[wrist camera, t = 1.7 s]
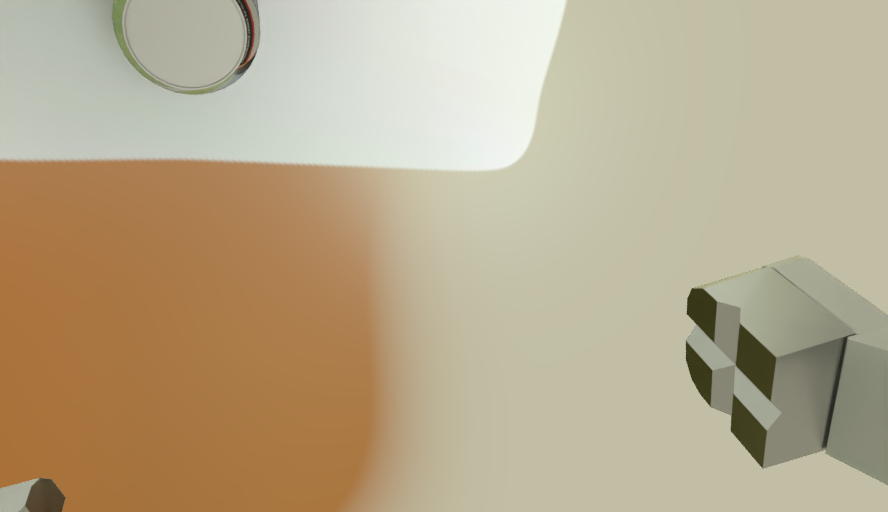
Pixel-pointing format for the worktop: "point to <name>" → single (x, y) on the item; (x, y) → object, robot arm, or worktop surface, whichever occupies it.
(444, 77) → the worktop surface
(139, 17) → the beverage can
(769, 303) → the robot arm
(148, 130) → the worktop surface
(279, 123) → the worktop surface
